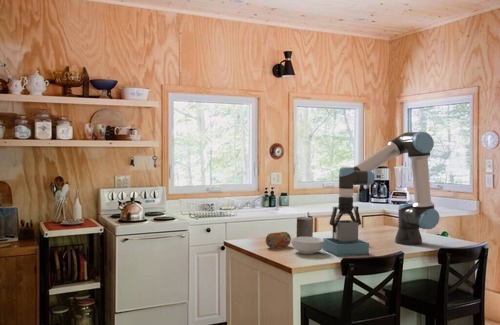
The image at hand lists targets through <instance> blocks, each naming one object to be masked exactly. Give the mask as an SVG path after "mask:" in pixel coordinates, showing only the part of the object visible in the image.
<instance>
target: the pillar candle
mask: <svg viewBox="0 0 500 325" xmlns="http://www.w3.org/2000/svg"><path fill="white" fill-rule="evenodd" d="M313 226H314V217H313V218H312V217H309V216H300V217H299V216H298V217H296V237H314V236H313V233H314V232H313V230H314V227H313Z"/></svg>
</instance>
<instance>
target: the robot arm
mask: <svg viewBox="0 0 500 325" xmlns="http://www.w3.org/2000/svg"><path fill="white" fill-rule="evenodd" d="M433 138H434V137H432V136H431V134H430V133H428V132H426V131H410V132H409V131H408V132H404V133H401V134H400V135H398V136H397V137H394V138H393V139H391V140H390V141H388V142H387V145H386V146H383V148H381V149H379V150H378V151H376V152H375V153H373V154H372V155H370V156H369V157H367V158H365V159H363V160H362V161H361V162H359V163H358V164H356V165H354V166H353V167H351V166H349V167H347V166H346V167H345V166H341V167H340V168H339V171H338V196H339V197H338V206H332V214H331V216H330V219H329V225H330V226H332V233H333V232H334V238H335V239H338V227H337V224H338V222H339V220H341V219H342V217H343V215H349V218H350V220H351V221H354V222H357V223H358V227H359V226H360V225H362V220H361V217H360V213H359V206H356V205H354V197H353V196H354V186H370V185H374V183H375V179H376V177H375V173H374V172H373V171H374V170H376V169H377V168H379V167H380V166H382V165H384V164H386V163H387V162H389V161H390V160H392V158H395V157H399V156H401V155H403V154H404V155H405V154H407V157H408V158H409V159H410V162H411V170H412V171H411V172H412V174H411V175H412V186H413V198H414V202H413V203H401V204H399V205H398V219H397V220H398V223H397V224H398V225H397V226H398V229H397V232H396V234H395V238H394V242H395V243H397V244H399V245H407V246H410V245H411V246H417V245H418V246H419V245H422V244H423V238H422V234H421V232H420V229H422V230H432V229H434V228H436V226H438V224H439V222H440V213H439V212H438V210H436V209H435V204H434V203H433V201H432V198H431V188H430V187H431V186H430V174H429V173H430V172H429V171H430V170H429V160H428V159H429V157H430V156H431V151H432V150H433V148H434V146H435V145H434V144H435V142H434V139H433ZM353 211H354V212H353ZM337 212H338V213H337ZM354 214H355V215H354ZM334 220H335V221H334Z"/></svg>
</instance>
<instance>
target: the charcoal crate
mask: <svg viewBox="0 0 500 325" xmlns="http://www.w3.org/2000/svg"><path fill="white" fill-rule="evenodd" d="M334 221H335V220H334ZM337 227H338V239H335V238H334V232H333V231H332V237H331V238H332V239H333V240H336V241H338V242H340V243H342V242H358V239H359V226H358V223H357V222H354V221H352V219H344V220H343V219H340V220H339V222H338V224H337Z"/></svg>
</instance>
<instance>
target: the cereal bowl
mask: <svg viewBox="0 0 500 325" xmlns="http://www.w3.org/2000/svg"><path fill="white" fill-rule="evenodd" d="M291 245H292V247H293V249H294V250H296V251H297V252H299V253H300V254H305V255H314V254H316V253H317V252H320V251H322V250H323V246H324V240H323V238H320V237H314V236H313V237H297V236H296V237H295V236H294V237H291Z"/></svg>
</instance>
